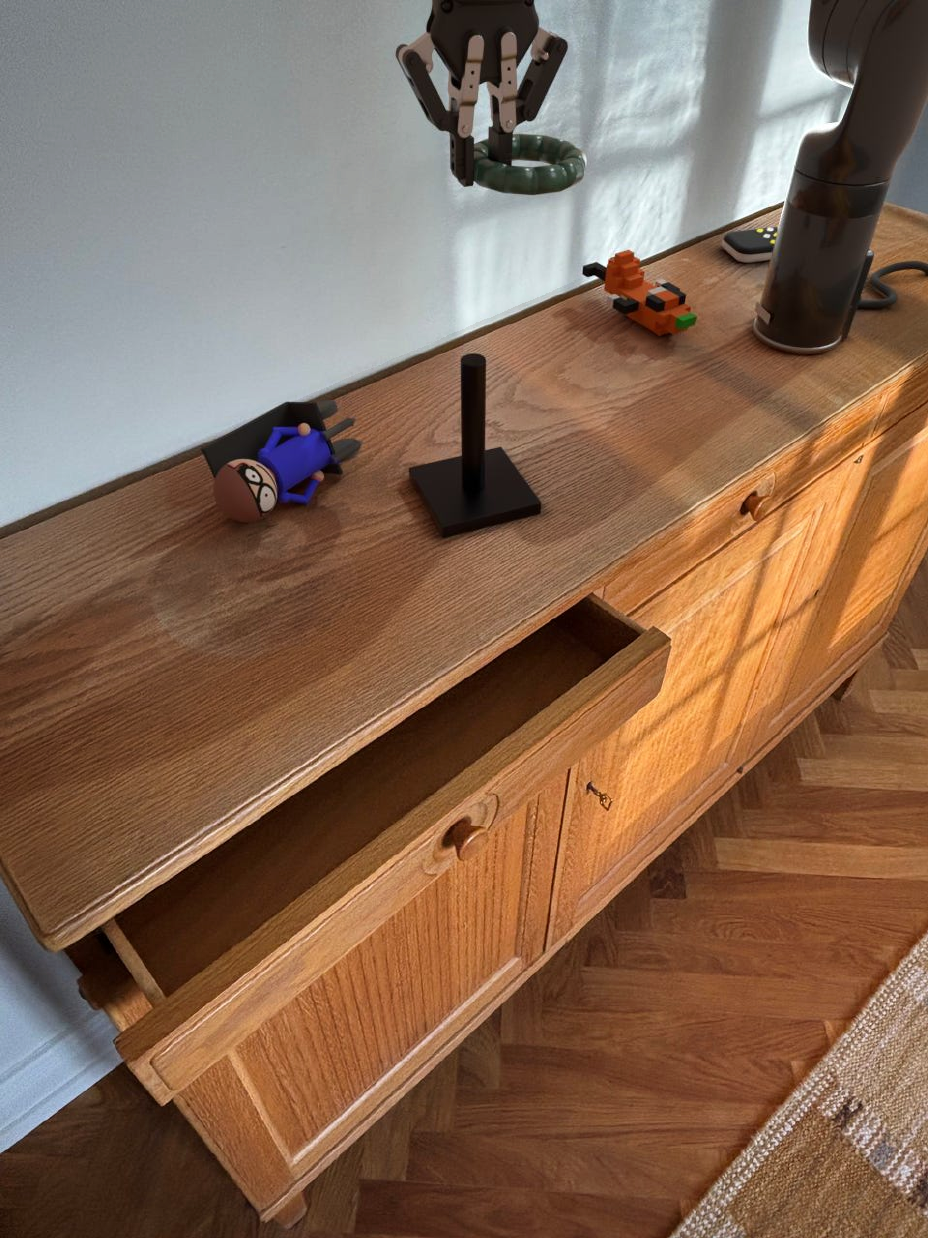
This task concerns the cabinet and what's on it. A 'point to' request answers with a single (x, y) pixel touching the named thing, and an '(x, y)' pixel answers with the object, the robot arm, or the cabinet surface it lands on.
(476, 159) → the ring
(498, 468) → the post
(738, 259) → the remote control
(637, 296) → the toy
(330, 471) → the character figurine
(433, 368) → the cabinet surface
